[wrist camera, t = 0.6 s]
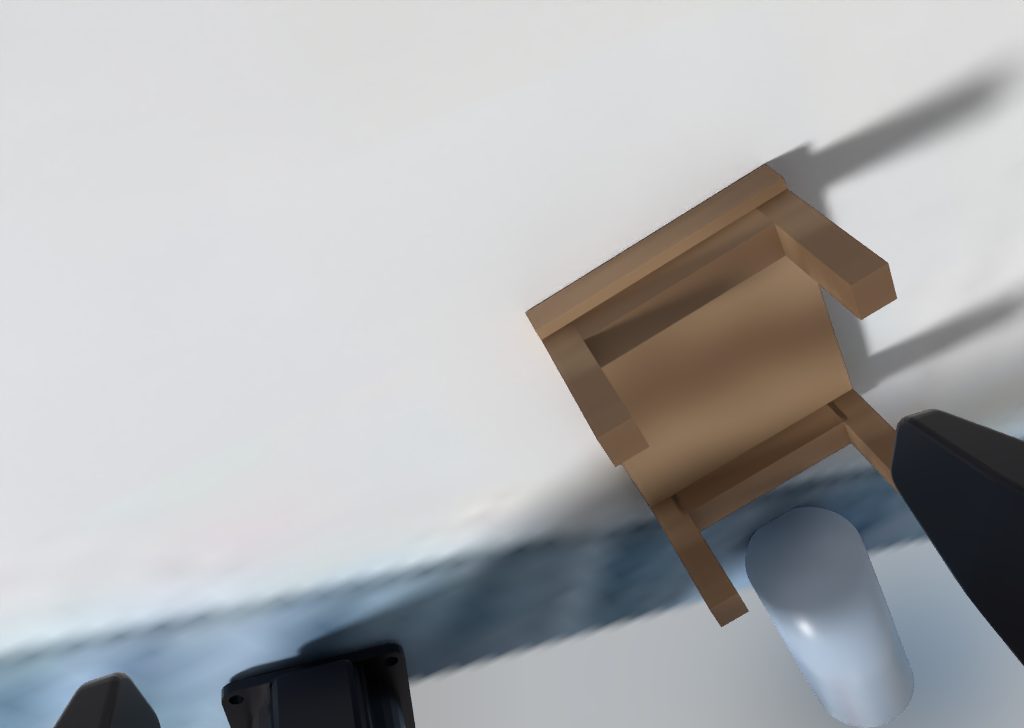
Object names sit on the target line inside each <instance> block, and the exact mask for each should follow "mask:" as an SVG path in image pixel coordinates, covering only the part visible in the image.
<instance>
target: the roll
mask: <svg viewBox="0 0 1024 728" xmlns="http://www.w3.org/2000/svg"><path fill="white" fill-rule="evenodd" d="M745 566H746V572H747V575H748V578H749V580H750V582H751V584H752V586H753V588H754V589H755V591H756V593H757V595H758V596H759V598H760V600H761V602H762V603H763V605H764V607H765V608H766V610H767V612H768V614H769V615H770V617H771V619H772V621H773V622H774V624H775V626H776V628H777V629H778V631H779V633H780V635H781V636H782V638H783V640H784V642H785V643H786V645H787V647H788V649H789V650H790V652H791V654H792V655H793V657H794V659H795V661H796V663H797V664H798V666H799V668H800V670H801V671H802V673H803V675H804V677H805V678H806V680H807V682H808V684H809V685H810V687H811V688H812V690H813V692H814V694H815V696H816V697H817V699H818V701H819V702H820V704H821V705H822V706H823V708H824V709H825V710H826V711H827V712H828V713H829V714H830V715H832V716H833V717H834V718H836V719H837V720H840V721H841V722H843V723H846V724H848V725H852V726H856V727H865V728H866V727H867V728H870V727H877V726H881V725H884V724H886V723H889V722H891V721H893V720H894V719H896V718H897V717H898V716H900V715H901V714H902V713H903V712H904V711H905V709H906V707H907V706H908V705H909V703H910V701H911V698H912V695H913V691H914V677H913V672H912V669H911V666H910V663H909V660H908V658H907V655H906V653H905V650H904V647H903V645H902V642H901V640H900V637H899V635H898V632H897V629H896V627H895V624H894V622H893V619H892V617H891V613H890V611H889V608H888V606H887V603H886V600H885V598H884V596H883V593H882V590H881V587H880V585H879V582H878V580H877V577H876V574H875V572H874V569H873V567H872V564H871V561H870V559H869V556H868V553H867V551H866V548H865V545H864V543H863V540H862V538H861V536H860V534H859V532H858V531H857V529H856V528H855V527H854V526H853V525H852V524H851V523H850V522H849V521H848V520H847V519H846V518H844V517H843V516H841V515H839V514H837V513H835V512H833V511H830V510H827V509H824V508H819V507H797V508H793V509H791V510H789V511H787V512H786V513H784V514H782V515H781V516H779V517H777V518H775V519H774V520H772V521H770V522H769V523H767V524H765V525H763V526H762V527H760V528H758V529H757V530H756V532H755V533H754V534H753V536H752V538H751V539H750V542H749V544H748V547H747V550H746V556H745Z"/></svg>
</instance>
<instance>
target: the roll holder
mask: <svg viewBox="0 0 1024 728" xmlns="http://www.w3.org/2000/svg"><path fill="white" fill-rule="evenodd" d="M818 284H819V285H820V286H822V287H823V288H824V289H825V290H826V291H827V292H829V293H830V294H831V295H832V296H833V297H834V298H836V299H837V300H838V301H839V302H840V303H842V304H843V305H844V306H845V307H846V308H847V309H849V310H850V311H851V312H852V313H853V314H854V315H856V316H857V317H858V318H859V319H860V320H862V319H864V318H865V317H867V316H869V315H870V314H872V313H874V312H875V311H877V310H879V309H880V308H882V307H884V306H885V305H887V304H889V303H891V302H892V301H894V300H896V299H897V296H896V292H895V288H894V284H893V280H892V276H891V272H890V268H889V264H888V263H887V262H886V261H885V260H883V259H882V258H881V257H879V256H878V255H877V254H875V253H874V252H873V251H871V250H870V249H868V248H867V247H866V246H864V245H863V244H862V243H860V242H859V241H858V240H856V239H855V238H853V237H852V236H851V235H849V234H848V233H847V232H845V231H844V230H843V229H841V228H840V227H839V226H837V225H836V224H834V223H833V222H832V221H830V220H829V219H828V218H826V217H825V216H824V215H822V214H821V213H819V212H818V211H817V210H815V209H814V208H813V207H811V206H810V205H809V204H807V203H806V202H805V201H803V200H802V199H800V198H799V197H798V196H796V195H795V194H794V193H792V192H791V191H790V190H788V189H787V187H786V184H785V181H784V178H783V177H782V176H781V175H779V174H778V173H777V172H775V171H774V170H772V169H771V168H770V167H768V166H767V165H766V164H764V165H763V166H761V167H759V168H758V169H756V170H754V171H753V172H751V173H750V174H748V175H746V176H745V177H743V178H742V179H740V180H738V181H737V182H735V183H734V184H732V185H730V186H729V187H727V188H725V189H724V190H722V191H721V192H719V193H717V194H716V195H714V196H713V197H711V198H709V199H708V200H706V201H705V202H703V203H701V204H700V205H698V206H696V207H695V208H693V209H692V210H690V211H688V212H687V213H685V214H684V215H682V216H680V217H679V218H677V219H676V220H674V221H672V222H671V223H669V224H667V225H666V226H664V227H663V228H661V229H659V230H658V231H656V232H655V233H653V234H651V235H650V236H648V237H647V238H645V239H643V240H642V241H640V242H638V243H637V244H635V245H634V246H632V247H630V248H629V249H627V250H626V251H624V252H622V253H621V254H619V255H618V256H616V257H614V258H613V259H611V260H609V261H608V262H606V263H605V264H603V265H601V266H600V267H598V268H597V269H595V270H593V271H592V272H590V273H589V274H587V275H585V276H584V277H582V278H580V279H579V280H577V281H576V282H574V283H572V284H571V285H569V286H568V287H566V288H564V289H563V290H561V291H559V292H558V293H556V294H555V295H553V296H551V297H550V298H548V299H547V300H545V301H543V302H542V303H540V304H539V305H537V306H535V307H534V308H532V309H530V310H529V311H527V312H526V315H527V317H528V318H529V320H530V322H531V324H532V326H533V327H534V329H535V331H536V332H537V334H538V336H539V337H540V339H541V340H542V342H543V344H544V346H545V347H546V349H547V351H548V353H549V354H550V356H551V358H552V360H553V362H554V363H555V365H556V367H557V369H558V371H559V372H560V374H561V376H562V378H563V379H564V381H565V383H566V385H567V387H568V388H569V390H570V392H571V394H572V395H573V397H574V399H575V401H576V403H577V404H578V406H579V408H580V410H581V412H582V413H583V415H584V417H585V419H586V420H587V422H588V424H589V426H590V428H591V429H592V431H593V433H594V435H595V437H596V438H597V440H598V441H599V443H600V444H601V446H602V447H603V449H604V450H605V452H606V453H607V455H608V457H609V458H610V460H611V461H612V463H613V464H614V466H615V467H616V466H618V465H620V464H621V463H622V465H623V466H624V468H625V469H626V471H627V472H628V474H629V476H630V477H631V479H632V480H633V482H634V483H635V485H636V486H637V488H638V489H639V491H640V492H641V494H642V496H643V497H644V499H645V500H646V502H647V503H648V505H649V506H650V508H651V510H652V511H653V513H654V515H655V516H656V518H657V520H658V522H659V523H660V525H661V527H662V528H663V530H664V532H665V534H666V535H667V537H668V539H669V540H670V542H671V544H672V546H673V547H674V549H675V551H676V553H677V554H678V556H679V558H680V559H681V561H682V563H683V565H684V566H685V568H686V570H687V571H688V573H689V575H690V577H691V578H692V580H693V582H694V584H695V585H696V587H697V589H698V590H699V592H700V594H701V596H702V597H703V599H704V601H705V602H706V604H707V606H708V608H709V609H710V611H711V612H712V614H713V615H714V617H715V618H716V620H717V621H718V623H719V624H720V626H721V627H722V626H724V625H726V624H728V623H729V622H731V621H733V620H735V619H736V618H738V617H740V616H742V615H743V614H745V613H747V612H748V609H747V607H746V606H745V604H744V602H743V601H742V599H741V597H740V596H739V594H738V592H737V591H736V589H735V588H734V586H733V584H732V583H731V581H730V580H729V578H728V576H727V575H726V573H725V572H724V570H723V568H722V567H721V565H720V564H719V562H718V560H717V559H716V557H715V556H714V554H713V553H712V551H711V549H710V548H709V546H708V545H707V543H706V541H705V540H704V538H703V537H702V535H701V533H700V531H702V530H704V529H705V528H707V527H709V526H710V525H712V524H714V523H716V522H717V521H719V520H721V519H722V518H724V517H726V516H728V515H729V514H731V513H733V512H734V511H736V510H738V509H739V508H741V507H743V506H745V505H746V504H748V503H750V502H751V501H753V500H755V499H757V498H758V497H760V496H762V495H763V494H765V493H767V492H768V491H770V490H772V489H774V488H775V487H777V486H779V485H780V484H782V483H784V482H786V481H787V480H789V479H791V478H792V477H794V476H796V475H798V474H799V473H801V472H803V471H804V470H806V469H808V468H809V467H811V466H813V465H815V464H816V463H818V462H820V461H821V460H823V459H825V458H827V457H828V456H830V455H832V454H833V453H835V452H837V451H838V450H840V449H842V448H844V447H845V446H847V445H849V444H850V443H852V444H853V445H854V446H855V447H856V448H857V450H858V451H859V452H860V453H861V454H862V455H863V456H864V457H865V458H866V459H867V460H868V461H869V462H870V463H871V464H872V466H873V467H874V468H875V469H876V470H877V471H878V472H879V473H880V474H881V475H882V476H883V477H884V478H885V479H886V480H887V482H888V483H889V484H890V485H891V486H892V487H893V488H894V489H895V490H896V491H897V492H898V490H897V488H896V486H895V484H894V482H893V480H892V476H891V469H890V468H891V460H892V454H893V448H894V441H895V435H896V431H895V430H894V429H893V428H892V427H891V426H890V425H889V424H888V423H887V422H886V421H885V420H884V419H883V418H882V417H881V416H880V415H879V414H878V413H877V412H876V411H875V410H874V409H873V408H872V407H871V406H870V405H869V404H868V403H867V402H866V401H865V400H864V399H863V398H862V397H861V396H860V395H859V394H857V393H856V392H855V391H854V390H853V388H852V385H851V382H850V379H849V376H848V373H847V370H846V367H845V364H844V361H843V358H842V355H841V352H840V349H839V346H838V343H837V340H836V337H835V333H834V330H833V327H832V324H831V321H830V318H829V315H828V312H827V309H826V306H825V303H824V300H823V297H822V294H821V291H820V288H819V285H818ZM898 493H899V492H898ZM899 494H900V493H899Z"/></svg>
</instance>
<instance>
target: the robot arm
mask: <svg viewBox="0 0 1024 728" xmlns="http://www.w3.org/2000/svg"><path fill="white" fill-rule="evenodd" d="M890 469H891V476H892V480H893V482H894V484H895V486H896V488H897V490H898V492H899V493H900V495H901V496H902V498H903V499H904V501H905V502H906V504H907V505H908V507H909V508H910V510H911V511H912V513H913V515H914V516H915V518H916V519H917V521H918V522H919V524H920V525H921V527H922V528H923V530H924V531H925V533H926V534H927V536H928V538H929V539H930V541H931V542H932V544H933V545H934V547H935V548H936V550H937V551H938V553H939V554H940V556H941V557H942V559H943V561H944V562H945V564H946V565H947V567H948V568H949V570H950V571H951V573H952V574H953V576H954V577H955V579H956V580H957V582H958V583H959V584H960V586H961V587H962V589H963V590H964V592H965V593H966V594H967V596H968V597H969V598H970V600H971V601H972V602H973V604H974V605H975V606H976V607H977V609H978V610H979V611H980V613H981V614H982V615H983V616H984V617H985V618H986V620H987V621H988V622H989V624H990V625H991V626H992V627H993V628H994V630H995V631H996V632H997V634H998V635H999V636H1000V637H1001V638H1002V639H1003V641H1004V642H1005V643H1006V645H1007V646H1008V647H1009V648H1010V650H1011V651H1012V652H1013V653H1014V655H1015V656H1016V657H1017V658H1018V660H1019V661H1020V662H1021V663H1022V664H1023V666H1024V441H1023V440H1020V439H1017V438H1015V437H1012V436H1009V435H1006V434H1004V433H1001V432H998V431H996V430H993V429H990V428H987V427H985V426H982V425H979V424H976V423H974V422H971V421H968V420H965V419H963V418H960V417H957V416H955V415H952V414H949V413H946V412H944V411H940V410H936V409H929V410H925V411H922V412H919V413H915V414H912V415H909V416H906V417H904V418H902V419H901V420H900V422H899V423H898V425H897V429H896V435H895V441H894V448H893V454H892V460H891V468H890ZM222 706H223V708H224V711H225V714H226V716H227V719H228V722H229V724H230V727H231V728H415V722H414V715H413V709H412V702H411V696H410V689H409V682H408V676H407V669H406V663H405V657H404V652H403V648H402V646H400V645H398V644H387V645H383V646H379V647H374V648H370V649H366V650H362V651H358V652H354V653H350V654H346V655H342V656H337V657H333V658H329V659H325V660H321V661H317V662H313V663H309V664H304V665H300V666H296V667H292V668H288V669H284V670H280V671H276V672H272V673H267V674H263V675H259V676H255V677H251V678H247V679H243V680H239V681H234V682H231V683H229V684H227V685H226V686H224V687H223V689H222ZM53 728H161V727H160V723H159V720H158V718H157V715H156V713H155V712H154V710H153V709H152V707H151V706H150V705H149V703H148V702H147V700H146V699H145V698H144V696H143V695H142V693H141V692H140V691H139V689H138V688H137V686H136V685H135V684H134V682H133V681H132V680H131V678H130V677H129V676H128V675H127V674H125V673H122V672H116V673H113V674H110V675H107V676H103V677H100V678H97V679H94V680H91V681H88V682H86V683H84V684H83V685H82V686H81V687H80V688H79V689H78V690H77V691H76V692H75V694H74V695H73V697H72V699H71V700H70V702H69V703H68V705H67V707H66V708H65V710H64V711H63V713H62V715H61V716H60V718H59V719H58V721H57V722H56V724H55V726H54V727H53Z"/></svg>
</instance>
